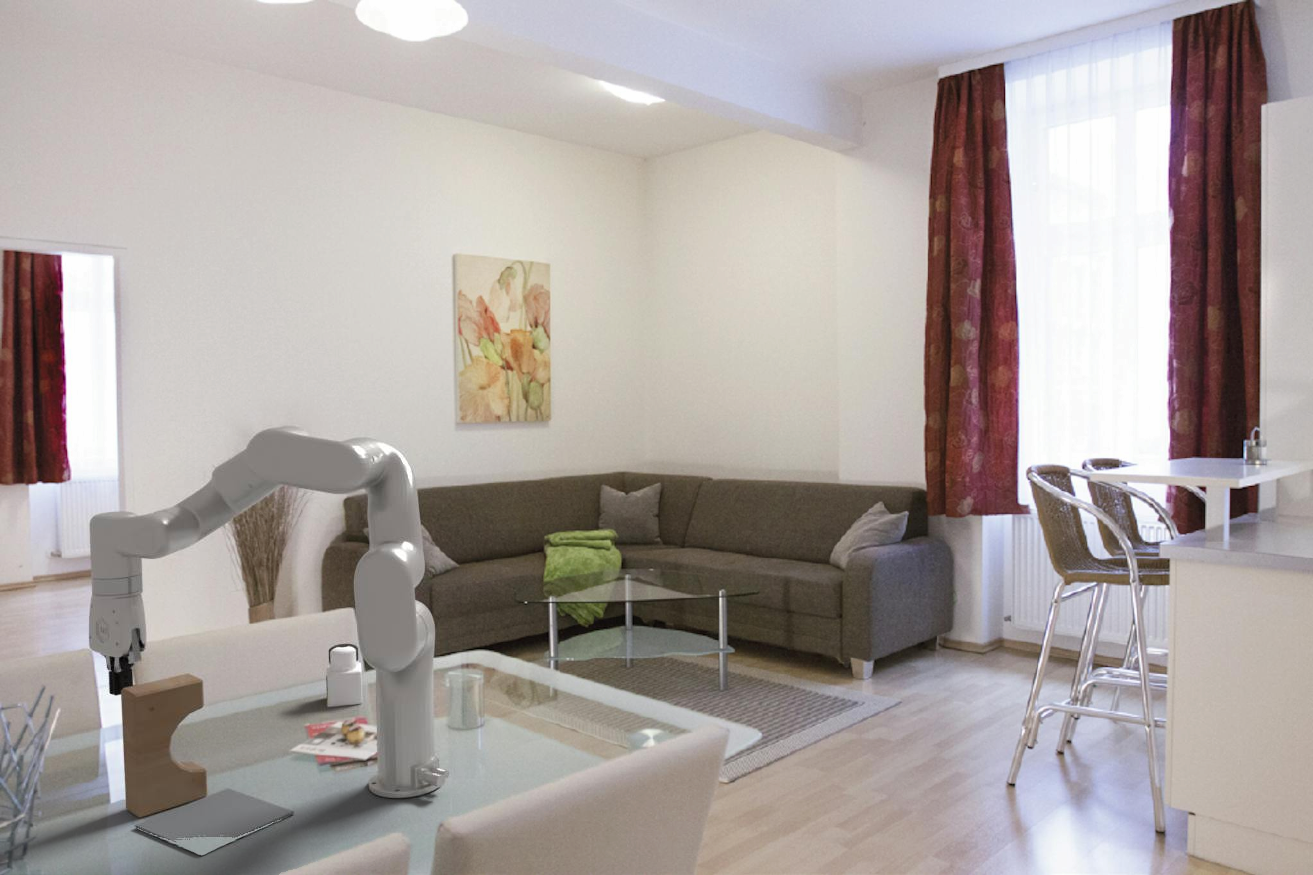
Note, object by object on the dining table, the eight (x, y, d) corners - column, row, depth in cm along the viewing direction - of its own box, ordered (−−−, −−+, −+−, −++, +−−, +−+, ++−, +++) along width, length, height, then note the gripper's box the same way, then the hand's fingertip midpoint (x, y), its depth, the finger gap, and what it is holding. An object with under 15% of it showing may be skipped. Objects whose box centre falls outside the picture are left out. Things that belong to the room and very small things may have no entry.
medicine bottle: (327, 697, 216) (326, 643, 215) (361, 693, 218) (360, 640, 217) (327, 707, 209) (325, 651, 208) (362, 704, 211) (360, 648, 210)
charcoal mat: (293, 814, 158) (293, 811, 158) (201, 856, 145) (201, 852, 145) (228, 791, 167) (227, 788, 167) (135, 828, 154) (135, 824, 154)
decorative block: (194, 787, 169) (190, 672, 168) (208, 797, 165) (204, 679, 164) (124, 809, 161) (119, 687, 159) (138, 819, 157) (132, 695, 156)
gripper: (70, 584, 168) (75, 691, 169) (120, 595, 160) (124, 706, 161) (114, 577, 174) (118, 679, 175) (164, 586, 166) (168, 694, 167)
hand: (121, 692), depth 168 cm, fingers closed
